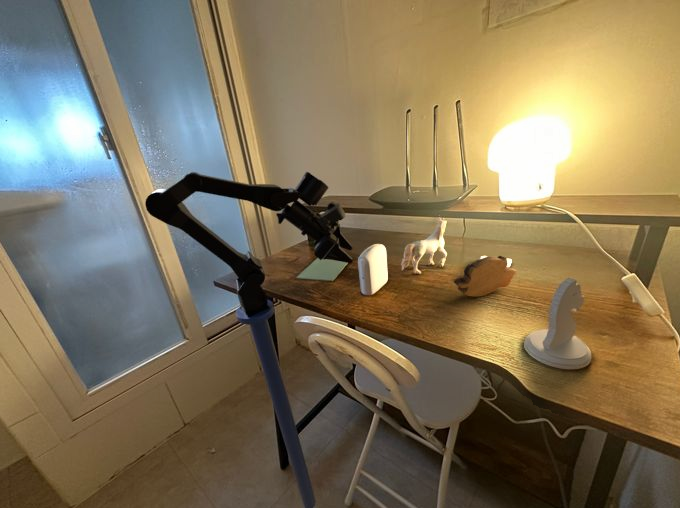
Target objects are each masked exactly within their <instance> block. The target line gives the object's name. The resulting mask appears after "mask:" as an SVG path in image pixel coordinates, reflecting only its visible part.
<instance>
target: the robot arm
mask: <svg viewBox="0 0 680 508" xmlns="http://www.w3.org/2000/svg"><path fill="white" fill-rule="evenodd" d="M328 189H329V186H328V185H327V184H326V183H325V182H324V181H323V180H321V179H319V178H317V177H316V176H314V175H313V174H311V173H310V172H309V171H305V173H304V174H303V175H302V178H301V180H300V182H298V184H297V185H296V187H295V188H291V187H289V188H282V187H281V186H279V185H277V184H272V183H271V184H269V183H254V184H253V183H252V184H251V183H249V184H248V183H244V182H239V181H236V180H229V179H225V178H220V177H216V176H210V175H206V174H201V173H198V172H197V171H190V172H188V173H187V174H186V175H184V177H183V178H181V179H180V180H179V181H177V182H175V183H174V184H172V185H171V186H170V187H168V188H159V189H156V190H155V191H153V192H151V193H150V194H149V195H148V196H147V197H146V199H145V202H144V203H145V204H144V205H145V208H146V211H147V213H148V214H150V216H151V217H153V218H155V219H157V220H158V221H160V222H162V223H164V224H166V225H168V226H171V227H174V228H176V229H179V230H181V231H183V232H184V233H185V234H186V235H188V236H189V237H190V238H192V239H194V241H195V242H196V243H198V244H200V245H201V246H202V247H204V248H205V249H206V250H208V251H209V252H210V253H211V254H213V255H214V256H215V257H217V259H220V260H221V261H222V262H223V263H225V264H226V265H227V266H229V267H230V268H231V271H233V273H234V274H235V275H236V277H237V278H236V279H235V283H236V295H237V298H238V301H239V305H240V306H241V307H240V306H239V307H240V310H241V311H242V312H243V313H244V314H245V315H246V316H247V317H251V316H253V315H255V314H258V313H260V312H262V311H264V310H267V309H269V306H268V305H267V304H268V301H267V300H268V298H267V293H266V291H265V290H264V289H263V286H262V285H263V284H264V283H265V279H266V274H265V272H264V269H263V266H262V263H261V260H260V258H257V257H256V256H254V254H252V253H251V252H250V251H249V250H247V252H246V253H245V254H244V253H242V252H239V251H238V250H237V249H235V248H234V247H233V246H232V245H230V244H229V243H228V242H226V241H225V240H224V239H223V238H221V236H219V235H218V234H217V233H215V232H214V231H213V230H212V229H210V228H209V227H207V225H205V224H204V223H202V222H201V221H200V220H199V219H198V218H196V217H195V216H194V215H193V214H192V213H191V212H190V210H189V209H188V207H187V206H186V204H185V203H184V202H185V200H187V199H188V198H189V197H191V196H192V195H194V194H195V193H204V194H209V195H214V196H219V197H224V198H230V199H234V200H235V199H236V200H241V201H245V202H246V201H247V202H250V203H252V204H255V205H257V206H260V207H262V208H264V209H268V210H270V211H273V212H277V213H275V214H276V218H277V222H278V225H281V224H282V223H283V221H284V220H286V222H288V223H290V224H291V225H292V226H294V227H295V228H297V229H298V230H300V231H301V233H300V234H301V235H302V236H304V237H305V236H307V237H309V238H310V239H311V240H313V244H314V245H315V247H314V250H313V253H314V257H316V259H317V258H318V259H320V260H322V259H324V260H325V259H329V260H336V261H341V262H346V263H348V264H352V263H353V262H354V259H353V257H352V256H351V255H349V254H348V252H346V251H347V250H348V251H352V250H353V246H352V244H351V243H350V242H349V241H348V239H346V237H345V236H344V234H343V233H342V231H341V224H340V222H339V221H342V220H343V219H345V218H346V213H345V211H344V209H343V208H342V205H341V204H340V203H338V202H337V203H335V202H333V201H331V202H329V203H328V204H327V205H326V206H327V210H325V211H324V212H323V213H320V212H318V211H317V212H316V211H315V212H313V211H312V210H311V209H310V208H308V207H307V206H309V207H311V206H313V207H314V206H317V205H318V203H319V202H320V200H321V199H322V198H323V196H324V195H325V194H326V192H327V191H328ZM299 200H301V201H302V202H303V203H304V204H306V205H307V206H305V205H304V204H303V203H302V202H300V201H299ZM289 204H291V205H289ZM345 250H346V251H345ZM351 257H352V258H351Z"/></svg>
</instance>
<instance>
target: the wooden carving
mask: <svg viewBox="0 0 680 508" xmlns="http://www.w3.org/2000/svg"><path fill="white" fill-rule="evenodd" d="M507 259H508V258H507V257H505V256H502V255H498V256H493V255H491V256H490V255H489V256H487V257H485V258H482V259H480V258H479V259H476V260H475V261H473V262H472V263H470V264H467V265H466V266H465V268H464V270H463V276H462V277H458V278H456V279H454V281H453V284H455V285H456V286H457V287H458V288H457V290H458V291H459V292H461V293H462V295H465V296H468V297H475V298H476V297H477V298H478V297H483V296H486V295H489V294H491V293H493V292H494V291H496V290H498V289H499V288H505V287H508V286H509V285H510V284H511V283H512V280H513V279H514V276H515V275H516V274H517V270H516V269H515V268H511V266H510V267H507V265H508V262H507Z"/></svg>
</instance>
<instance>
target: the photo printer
mask: <svg viewBox="0 0 680 508" xmlns="http://www.w3.org/2000/svg"><path fill="white" fill-rule="evenodd" d="M357 267H358V276H359V288H360V293H361V294H363V295H365V296H372V295H374V294H375V293H376V292H378V291H379V290H380V289H381V288H383V286H384V285H385V284H387V282H388V280H389V276H388V275H389V274H388V273H389V272H388V255H387V248H386V247H385V245H384V244H381V243H375V244H372V245H369V246H367V247H366V248H365V249H364V250H362V252H361V253H360V255H359V256H358V259H357Z"/></svg>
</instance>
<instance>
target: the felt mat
mask: <svg viewBox="0 0 680 508" xmlns="http://www.w3.org/2000/svg"><path fill="white" fill-rule="evenodd" d="M350 257H351V258H352V259H353V257H352V256H350ZM348 264H349V263H346V262H341V261H336V260H329V259H325V260H324V259H322V260H320V259H318V258H317V257H316V258H315V260H314V261H313V262H311V263H310V264H309V265H308V266H307V267H306V268H305V269H304V270H303V271H301V272H300V273H299V274H298V275H297V276H296V277H295V279H297V280H308V281H309V280H311V281H322V282H324V281H325V282H333V281H335V280H336V278H337V277H338V276H339V275H340V274H341V272H342V271H343V270H344V269H345V267H346V266H347V265H348Z"/></svg>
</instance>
